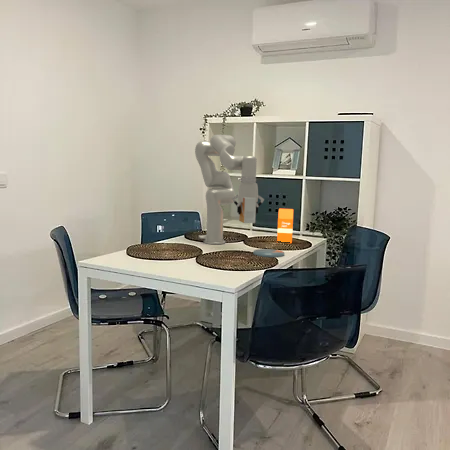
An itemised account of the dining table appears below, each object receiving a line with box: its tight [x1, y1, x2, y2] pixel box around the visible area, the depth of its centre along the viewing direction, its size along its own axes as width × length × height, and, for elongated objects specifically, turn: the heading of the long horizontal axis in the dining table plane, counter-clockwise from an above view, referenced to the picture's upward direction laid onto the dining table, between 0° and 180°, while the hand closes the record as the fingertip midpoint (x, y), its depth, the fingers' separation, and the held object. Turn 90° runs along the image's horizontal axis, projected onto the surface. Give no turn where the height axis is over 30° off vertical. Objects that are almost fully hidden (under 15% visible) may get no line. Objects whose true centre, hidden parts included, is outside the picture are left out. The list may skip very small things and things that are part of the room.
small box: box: [238, 198, 257, 224], centre depth 244 cm, size 8×6×13 cm
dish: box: [252, 248, 285, 258], centre depth 245 cm, size 16×16×1 cm
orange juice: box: [276, 208, 294, 244], centre depth 284 cm, size 8×9×20 cm
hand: (247, 214), depth 245 cm, fingers closed on small box, 8 cm apart
